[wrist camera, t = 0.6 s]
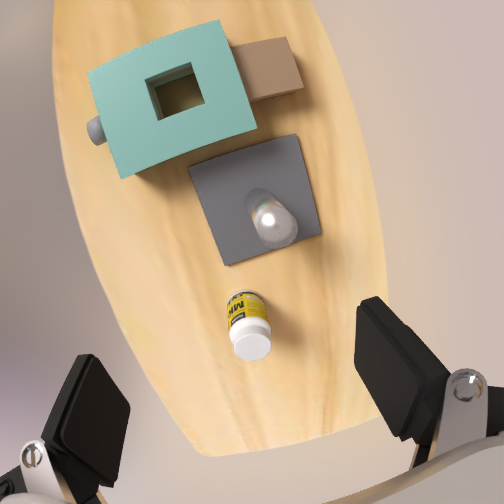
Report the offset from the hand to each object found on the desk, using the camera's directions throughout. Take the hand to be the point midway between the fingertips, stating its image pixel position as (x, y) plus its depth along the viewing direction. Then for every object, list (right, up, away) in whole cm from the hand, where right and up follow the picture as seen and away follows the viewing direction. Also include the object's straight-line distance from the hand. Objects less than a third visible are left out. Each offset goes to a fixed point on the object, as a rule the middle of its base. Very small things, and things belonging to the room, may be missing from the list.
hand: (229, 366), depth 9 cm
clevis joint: (-6, +20, +16) cm, 27 cm away
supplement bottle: (0, -3, +27) cm, 27 cm away
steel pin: (+2, +9, +21) cm, 23 cm away
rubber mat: (+1, +10, +22) cm, 24 cm away
